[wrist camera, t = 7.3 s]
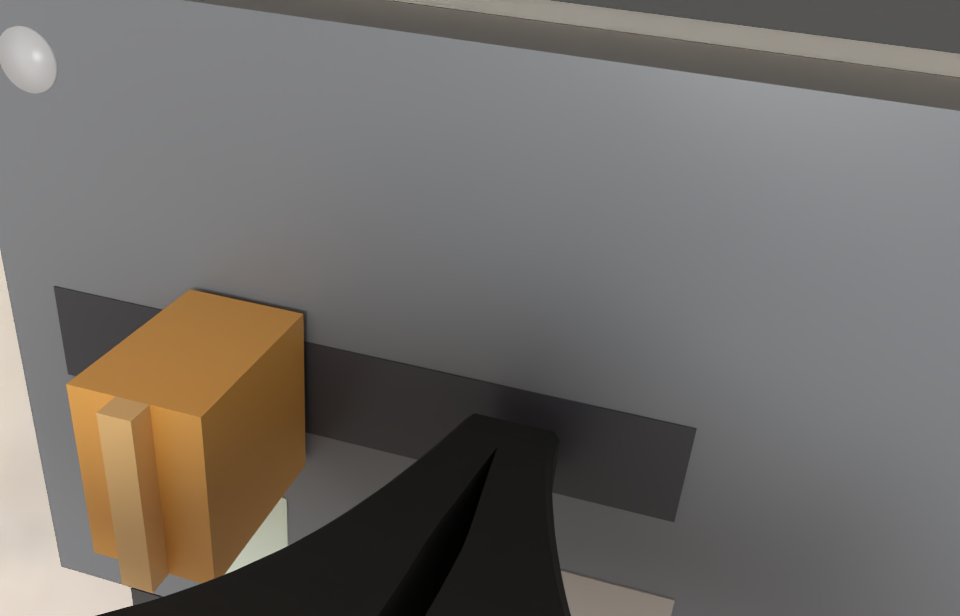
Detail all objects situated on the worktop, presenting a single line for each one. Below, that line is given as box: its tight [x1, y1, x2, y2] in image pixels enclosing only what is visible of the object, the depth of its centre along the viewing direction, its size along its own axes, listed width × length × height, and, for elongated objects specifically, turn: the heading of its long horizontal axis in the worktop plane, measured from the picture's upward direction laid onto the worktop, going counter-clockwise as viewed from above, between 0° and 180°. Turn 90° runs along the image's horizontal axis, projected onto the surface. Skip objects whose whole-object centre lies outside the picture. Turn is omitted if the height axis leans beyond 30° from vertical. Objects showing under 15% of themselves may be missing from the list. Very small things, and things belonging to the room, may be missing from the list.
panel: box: [0, 0, 960, 616], centre depth 15 cm, size 12×17×2 cm
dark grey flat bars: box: [131, 0, 960, 605], centre depth 15 cm, size 16×14×2 cm
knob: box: [66, 289, 306, 593], centre depth 14 cm, size 3×2×3 cm, turn 175°
